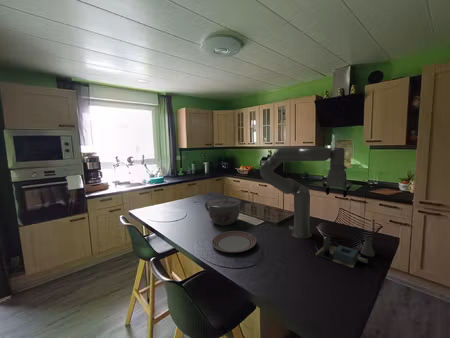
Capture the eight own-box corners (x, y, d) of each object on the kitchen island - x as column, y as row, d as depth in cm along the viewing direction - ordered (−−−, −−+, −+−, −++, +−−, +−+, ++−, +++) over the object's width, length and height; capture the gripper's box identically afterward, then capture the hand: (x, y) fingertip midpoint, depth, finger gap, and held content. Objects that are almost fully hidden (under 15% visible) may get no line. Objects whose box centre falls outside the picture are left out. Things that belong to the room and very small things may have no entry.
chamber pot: (247, 225, 159) (247, 198, 157) (213, 232, 149) (212, 203, 147) (233, 214, 185) (232, 191, 183) (203, 219, 175) (201, 195, 173)
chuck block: (333, 258, 109) (333, 251, 108) (339, 251, 115) (339, 244, 115) (364, 269, 99) (365, 261, 98) (369, 261, 105) (369, 253, 105)
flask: (360, 250, 118) (361, 233, 117) (376, 254, 113) (377, 237, 112) (358, 256, 112) (359, 238, 111) (375, 260, 108) (376, 242, 107)
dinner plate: (217, 260, 113) (217, 254, 113) (208, 238, 139) (207, 234, 139) (264, 251, 120) (264, 246, 120) (246, 232, 147) (246, 228, 146)
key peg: (324, 252, 114) (325, 235, 112) (330, 254, 112) (331, 236, 110) (322, 255, 112) (322, 237, 110) (328, 257, 109) (328, 238, 108)
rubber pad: (317, 255, 112) (317, 255, 112) (322, 250, 117) (322, 250, 116) (331, 260, 107) (331, 260, 107) (335, 255, 112) (335, 254, 112)
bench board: (314, 256, 113) (314, 254, 113) (325, 245, 124) (325, 243, 124) (352, 270, 100) (352, 267, 100) (361, 256, 112) (361, 254, 111)
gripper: (354, 168, 123) (353, 196, 125) (324, 166, 135) (323, 192, 137) (351, 169, 118) (350, 199, 120) (319, 167, 130) (319, 194, 132)
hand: (336, 195), depth 129 cm, fingers open, 9 cm apart
